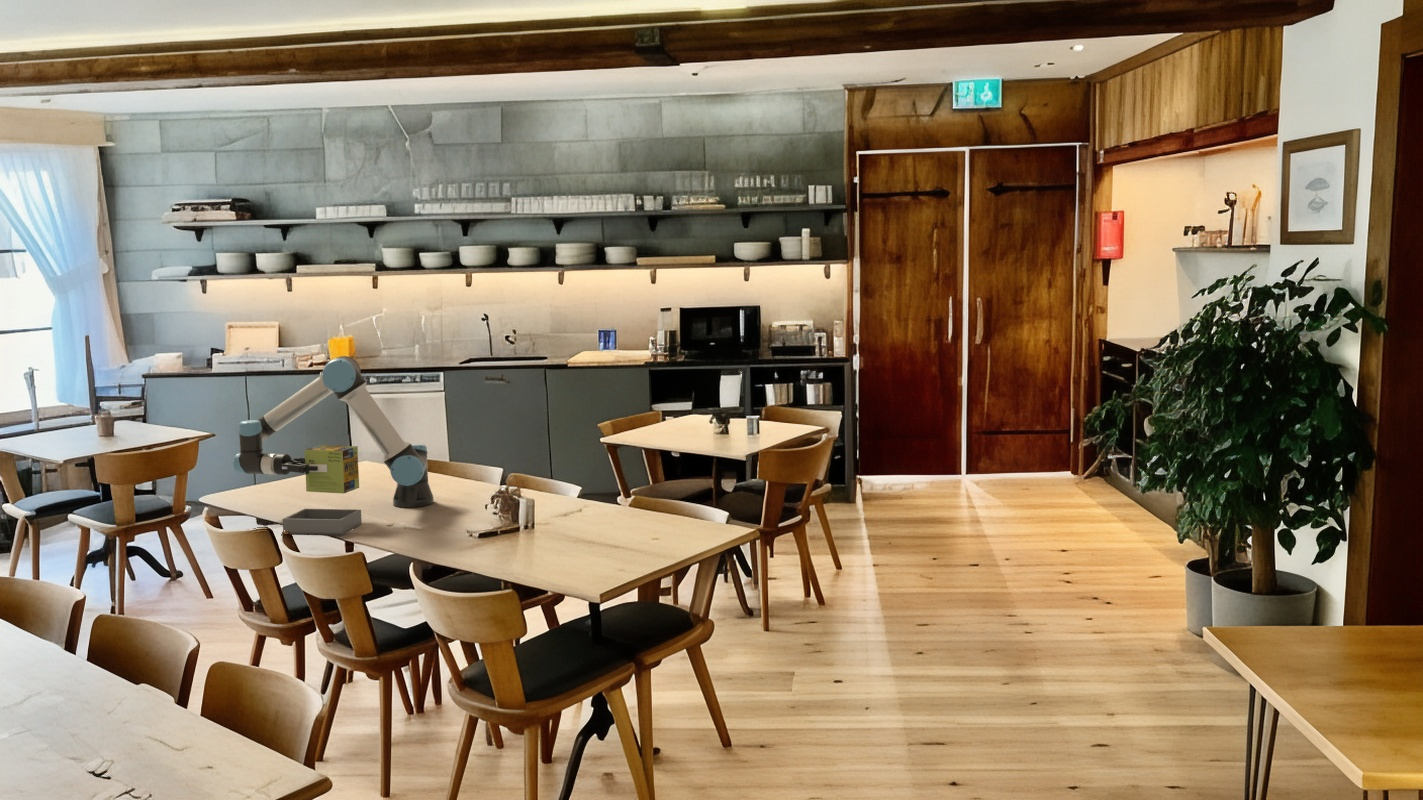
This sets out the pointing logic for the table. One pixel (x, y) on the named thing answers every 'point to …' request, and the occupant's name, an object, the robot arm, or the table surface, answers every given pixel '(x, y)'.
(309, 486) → the protein box
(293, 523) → the tray
